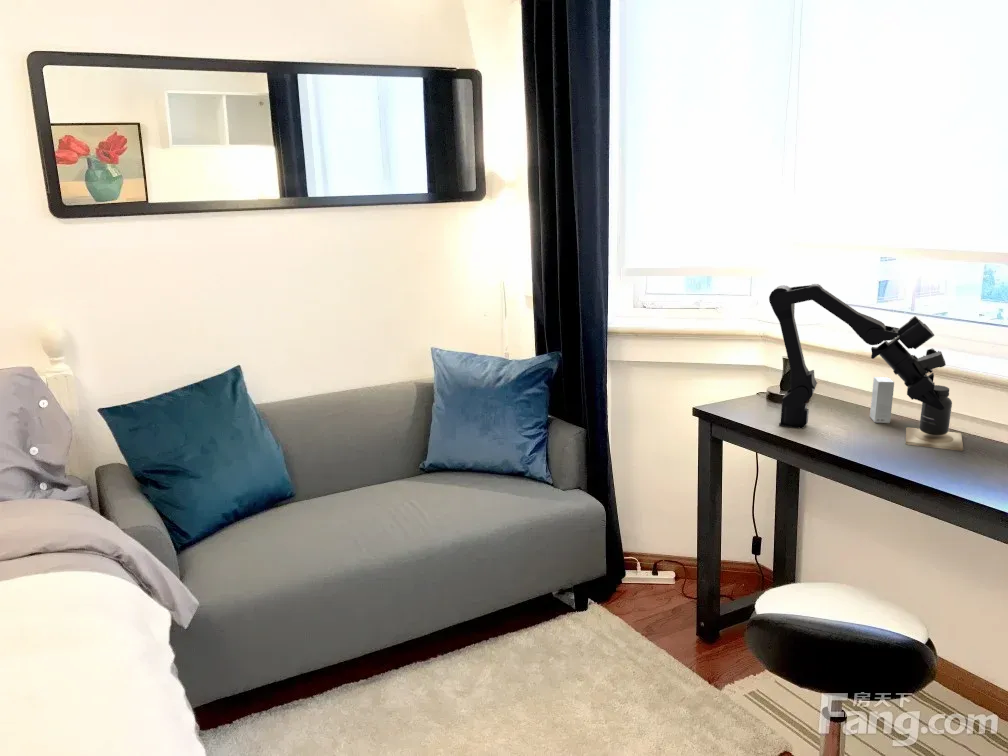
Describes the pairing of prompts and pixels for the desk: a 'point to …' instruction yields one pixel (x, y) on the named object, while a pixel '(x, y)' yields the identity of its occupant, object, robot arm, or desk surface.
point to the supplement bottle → (936, 414)
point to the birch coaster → (934, 439)
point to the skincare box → (882, 399)
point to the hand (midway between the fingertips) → (942, 405)
